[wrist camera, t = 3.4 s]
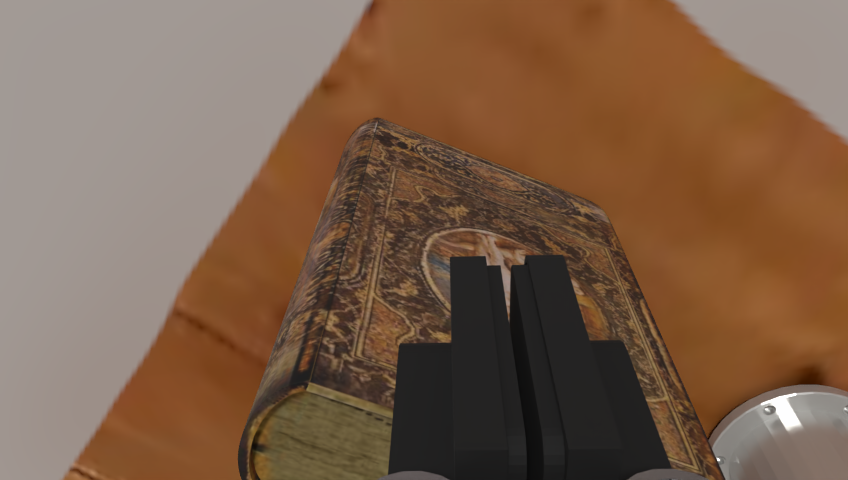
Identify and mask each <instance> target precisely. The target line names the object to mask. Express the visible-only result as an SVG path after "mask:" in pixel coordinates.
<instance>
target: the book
mask: <svg viewBox="0 0 848 480" xmlns="http://www.w3.org/2000/svg"><path fill="white" fill-rule="evenodd" d="M561 254H562V255H563V256H564V258H565V262H566V265H567V268H568V271H569V275H570V278H571V281H572V284H573V288H574V291H575V294H576V297H577V301H578V304H579V307H580V310H581V314H582V317H583V320H584V323H585V327H586V330H587V333H588V336H589V340H621V341H622V342H624V344H625V346H626V348H627V351H628V353H629V356H630V359H631V361H632V364H633V366H634V369H635V372H636V374H637V377H638V380H639V382H640V385H641V388H642V390H643V393H644V396H645V398H646V401H647V404H648V406H649V409H650V411H651V414H652V417H653V419H654V422H655V425H656V427H657V430H658V433H659V435H660V438H661V441H662V443H663V446H664V448H665V451H666V454H667V456H668V459H669V462H670V464H671V467H672V469H677V470H682V471H686V472H691V473H695V474H698V475H700V476H702V477H705V478H707V479H709V480H726V479H725V477H724V475H723V472H722V470H721V468H720V466H719V463H718V461H717V459H716V457H715V454H714V452H713V450H712V448H711V446H710V443H709V441H708V439H707V437H706V434H705V432H704V430H703V428H702V425H701V423H700V421H699V419H698V416H697V414H696V412H695V410H694V407H693V405H692V403H691V401H690V399H689V396H688V394H687V392H686V390H685V387H684V385H683V383H682V381H681V378H680V376H679V374H678V372H677V369H676V367H675V365H674V363H673V360H672V358H671V356H670V354H669V352H668V349H667V347H666V345H665V343H664V340H663V338H662V336H661V334H660V331H659V329H658V327H657V325H656V322H655V320H654V318H653V316H652V314H651V311H650V309H649V307H648V305H647V302H646V300H645V298H644V296H643V293H642V291H641V289H640V287H639V284H638V282H637V280H636V278H635V275H634V273H633V271H632V269H631V267H630V264H629V262H628V260H627V258H626V255H625V253H624V251H623V249H622V246H621V244H620V242H619V240H618V237H617V235H616V233H615V231H614V229H613V226H612V224H611V222H610V220H609V218H608V217H607V215H606V214H605V212H604V211H603V210H602V209H601V208H600V207H599V206H598V205H596V204H595V203H593V202H591V201H589V200H586V199H584V198H581V197H579V196H576V195H574V194H571V193H569V192H567V191H564V190H562V189H559V188H557V187H554V186H552V185H549V184H547V183H544V182H542V181H539V180H537V179H534V178H532V177H529V176H526V175H524V174H521V173H519V172H516V171H514V170H511V169H509V168H506V167H503V166H501V165H498V164H496V163H493V162H491V161H488V160H485V159H483V158H480V157H478V156H475V155H473V154H470V153H468V152H465V151H462V150H460V149H457V148H455V147H452V146H450V145H447V144H445V143H442V142H439V141H437V140H434V139H432V138H429V137H427V136H424V135H421V134H419V133H416V132H414V131H411V130H409V129H406V128H404V127H401V126H398V125H396V124H393V123H391V122H388V121H386V120H383V119H381V118H374V119H371V120H368V121H366V122H365V123H363V124H362V125H360V126H359V127H358V128H357V129H356V130H355V131H354V132H353V134H352V135H351V137H350V138H349V140H348V142H347V144H346V146H345V148H344V151H343V153H342V156H341V159H340V162H339V165H338V167H337V170H336V173H335V176H334V179H333V182H332V184H331V187H330V190H329V193H328V196H327V198H326V201H325V204H324V207H323V210H322V212H321V215H320V218H319V221H318V224H317V226H316V229H315V232H314V235H313V238H312V240H311V243H310V246H309V249H308V252H307V255H306V257H305V260H304V263H303V266H302V269H301V271H300V274H299V277H298V280H297V283H296V285H295V288H294V291H293V294H292V297H291V299H290V302H289V305H288V308H287V311H286V313H285V316H284V319H283V322H282V325H281V327H280V330H279V333H278V336H277V339H276V342H275V344H274V347H273V350H272V353H271V356H270V358H269V361H268V364H267V367H266V370H265V372H264V375H263V378H262V381H261V384H260V386H259V389H258V392H257V395H256V398H255V400H254V403H253V406H252V409H251V412H250V414H249V417H248V420H247V423H246V426H245V429H244V431H243V434H242V438H241V441H240V445H239V451H238V466H239V472H240V476H241V479H242V480H377V479H379V478H381V477H383V476H386V475H388V467H389V455H390V443H391V431H392V419H393V407H394V396H395V384H396V372H397V360H398V349H399V344H400V343H448V342H451V300H450V257H453V256H486V261H487V265H500V266H501V272H502V279H503V285H504V292H505V299H506V306H507V312H508V319H509V312H510V276H511V266H512V265H524V260H525V256H526V255H561Z"/></svg>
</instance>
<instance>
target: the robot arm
mask: <svg viewBox="0 0 848 480" xmlns="http://www.w3.org/2000/svg"><path fill="white" fill-rule="evenodd" d="M450 300H451V342H448V343H400V344H399V349H398V360H397V372H396V384H395V396H394V407H393V419H392V431H391V443H390V455H389V467H388V475H386V476H383V477H381V478H379V479H377V480H709V479H707V478H705V477H702V476H700V475H698V474H695V473H691V472H686V471H682V470H677V469H672V467H671V464H670V462H669V459H668V456H667V454H666V451H665V448H664V446H663V443H662V441H661V438H660V435H659V433H658V430H657V427H656V425H655V422H654V419H653V417H652V414H651V411H650V409H649V406H648V404H647V401H646V398H645V396H644V393H643V390H642V388H641V385H640V382H639V380H638V377H637V374H636V372H635V369H634V366H633V364H632V361H631V359H630V356H629V353H628V351H627V348H626V346H625V344H624V342H622V341H621V340H589V336H588V333H587V330H586V327H585V323H584V320H583V317H582V314H581V310H580V307H579V304H578V301H577V297H576V294H575V291H574V288H573V284H572V281H571V278H570V275H569V271H568V268H567V265H566V262H565V258H564V256H563V255H562V254H561V255H526V256H525V260H524V265H512V266H511V276H510V312H509V319H508V312H507V306H506V299H505V292H504V285H503V279H502V272H501V266H500V265H487V261H486V256H453V257H450ZM709 443H710V446H711V448H712V450H713V452H714V454H715V457H716V459H717V461H718V463H719V466H720V468H721V470H722V472H723V475H724V477H725V479H726V480H848V392H846V391H843V390H840V389H837V388H834V387H829V386H822V385H795V386H789V387H782V388H779V389H775V390H772V391H769V392H765V393H763V394H761V395H758V396H756V397H754V398H752V399H750V400H748V401H746V402H745V403H743V404H742V405H740V406H738V407H737V408H735V409H734V410H733V411H732V412H731V413H730V414H728V415H727V416H726V417H725V418H724V419H723V420H722V421H721V422H720V424H719V425H718V426H717V427H716V429H715V430H714V431H713V433H712V435H711V437H710V439H709Z"/></svg>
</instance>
